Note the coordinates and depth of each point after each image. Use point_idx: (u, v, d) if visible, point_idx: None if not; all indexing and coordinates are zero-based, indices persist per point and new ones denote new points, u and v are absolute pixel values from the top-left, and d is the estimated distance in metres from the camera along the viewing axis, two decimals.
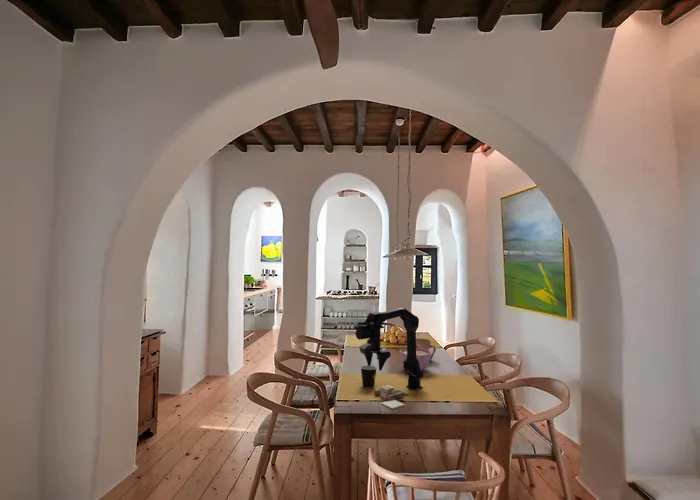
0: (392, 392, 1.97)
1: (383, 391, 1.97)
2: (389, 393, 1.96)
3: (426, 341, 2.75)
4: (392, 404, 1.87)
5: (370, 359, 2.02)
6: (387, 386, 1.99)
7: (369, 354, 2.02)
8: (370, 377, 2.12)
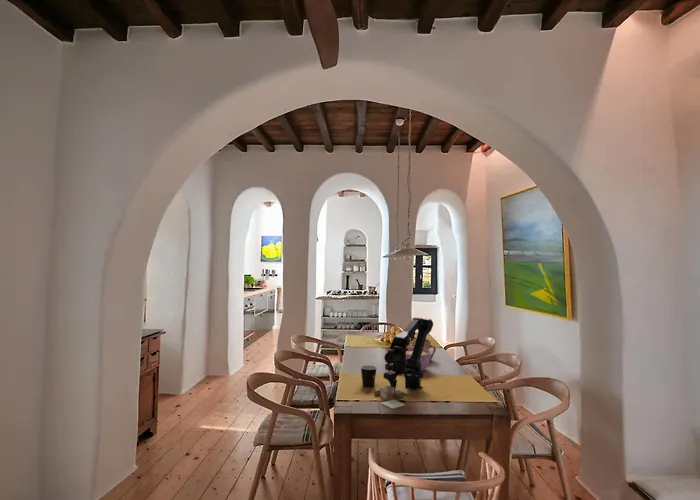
0: (392, 392, 1.97)
1: (383, 391, 1.97)
2: (389, 393, 1.96)
3: (426, 341, 2.75)
4: (392, 404, 1.87)
5: (407, 383, 2.05)
6: (387, 386, 1.99)
7: (407, 377, 2.06)
8: (370, 377, 2.12)
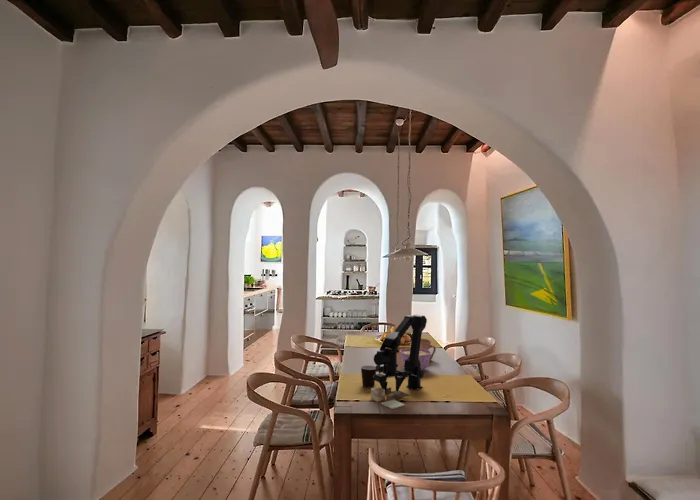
0: (383, 394, 1.93)
1: (373, 393, 1.94)
2: (380, 395, 1.92)
3: (426, 341, 2.75)
4: (392, 404, 1.87)
5: (398, 385, 2.02)
6: (377, 388, 1.96)
7: (398, 379, 2.02)
8: (370, 377, 2.12)
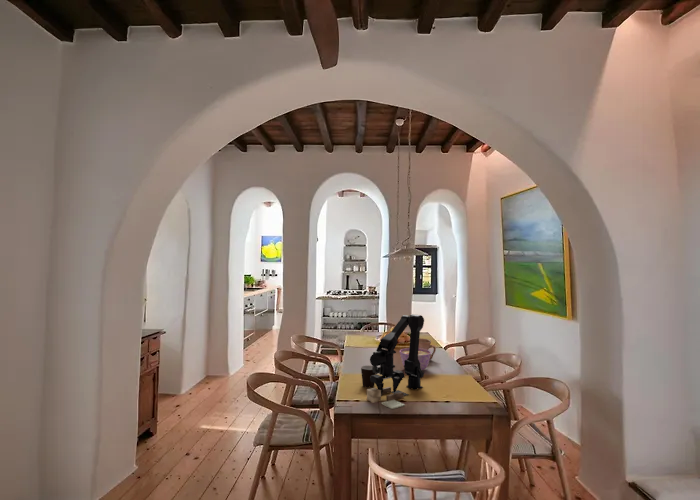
0: (379, 395, 1.92)
1: (369, 394, 1.92)
2: (376, 396, 1.91)
3: (426, 341, 2.75)
4: (392, 404, 1.87)
5: (395, 385, 2.00)
6: (374, 389, 1.94)
7: (395, 380, 2.01)
8: None
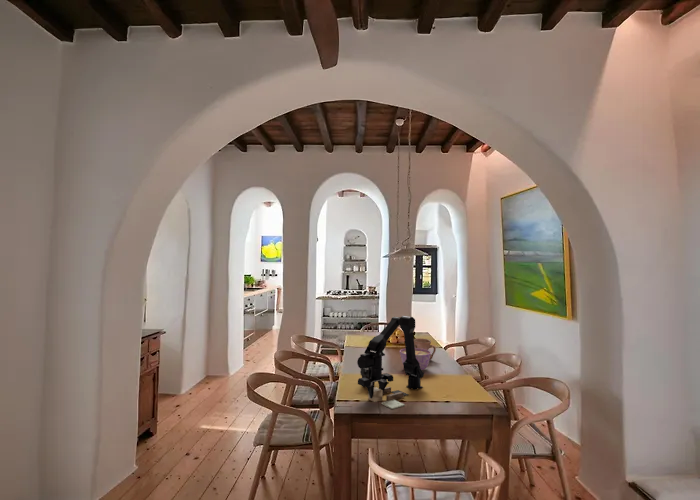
0: (380, 395, 1.93)
1: None
2: (377, 396, 1.92)
3: (426, 341, 2.75)
4: (392, 404, 1.87)
5: (381, 389, 1.95)
6: (375, 388, 1.95)
7: (381, 384, 1.96)
8: None
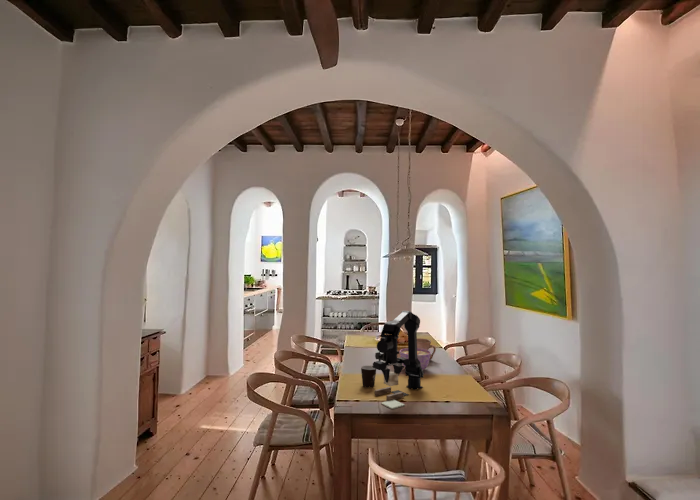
0: (396, 379, 1.87)
1: None
2: (393, 380, 1.86)
3: (426, 341, 2.75)
4: (392, 404, 1.87)
5: None
6: (391, 372, 1.89)
7: (396, 368, 1.90)
8: (370, 377, 2.12)
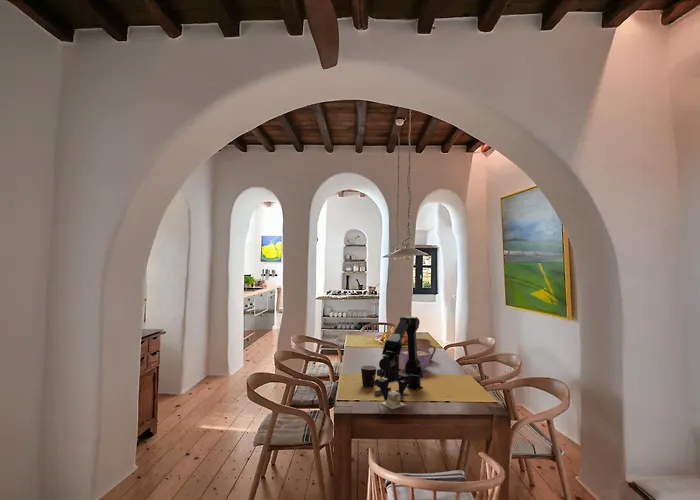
0: (398, 398, 1.86)
1: (388, 397, 1.86)
2: (395, 400, 1.85)
3: (426, 341, 2.75)
4: None
5: (401, 390, 1.89)
6: (393, 392, 1.88)
7: (401, 384, 1.90)
8: (370, 377, 2.12)
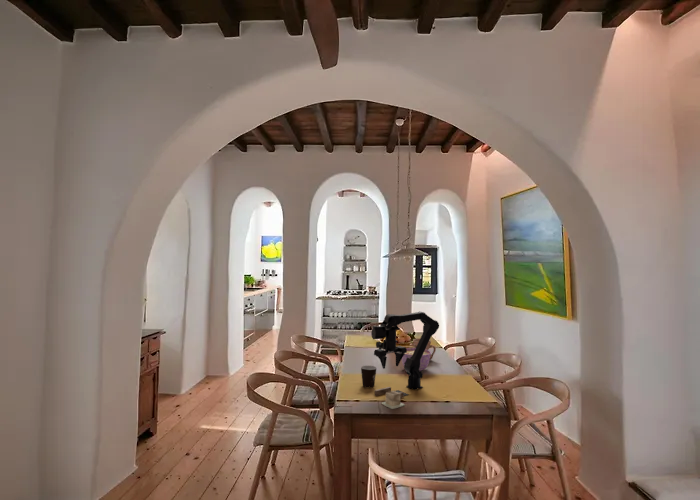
0: (398, 398, 1.86)
1: (388, 397, 1.86)
2: (395, 400, 1.85)
3: None
4: None
5: (398, 360, 2.11)
6: (393, 392, 1.88)
7: (398, 355, 2.12)
8: (370, 377, 2.12)
